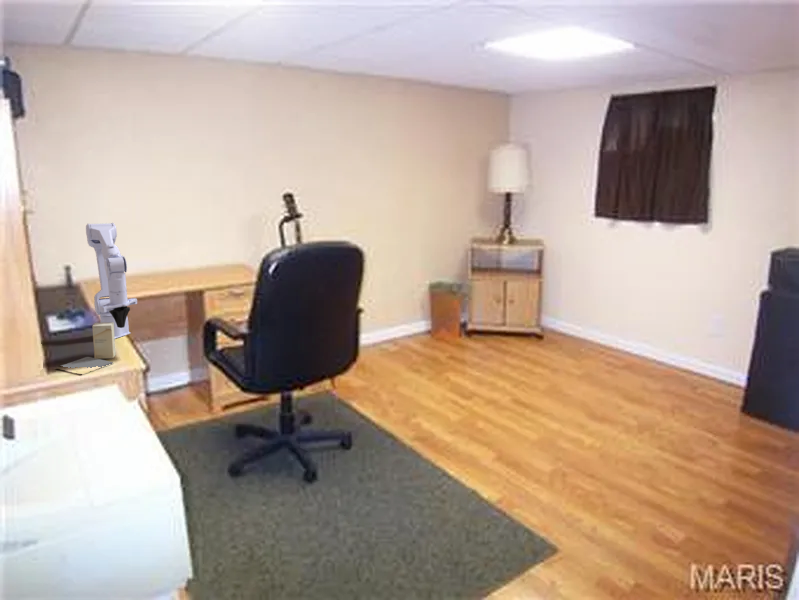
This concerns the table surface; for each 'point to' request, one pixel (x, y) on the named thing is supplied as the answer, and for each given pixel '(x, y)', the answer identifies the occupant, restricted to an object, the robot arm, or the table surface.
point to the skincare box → (104, 340)
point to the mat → (87, 363)
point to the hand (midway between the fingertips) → (120, 327)
